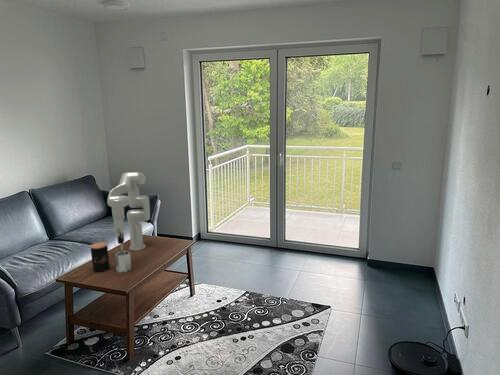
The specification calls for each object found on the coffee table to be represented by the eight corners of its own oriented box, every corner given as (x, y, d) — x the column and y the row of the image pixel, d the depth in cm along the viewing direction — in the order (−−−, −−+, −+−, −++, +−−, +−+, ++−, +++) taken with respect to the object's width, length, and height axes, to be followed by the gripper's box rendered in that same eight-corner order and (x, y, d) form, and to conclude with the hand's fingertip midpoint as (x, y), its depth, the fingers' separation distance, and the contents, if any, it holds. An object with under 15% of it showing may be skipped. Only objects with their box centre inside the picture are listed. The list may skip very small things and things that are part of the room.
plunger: (118, 254, 261) (116, 234, 258) (128, 253, 262) (126, 234, 258) (116, 258, 254) (114, 238, 251) (126, 257, 255) (124, 237, 252)
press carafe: (119, 266, 266) (117, 250, 264) (132, 264, 268) (131, 249, 265) (115, 273, 255) (113, 256, 252) (130, 272, 256) (128, 255, 254)
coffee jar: (94, 273, 255) (91, 248, 251) (92, 268, 264) (89, 243, 260) (110, 270, 260) (107, 245, 256) (108, 264, 269) (105, 241, 265)
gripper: (115, 213, 259) (118, 238, 263) (110, 220, 243) (113, 247, 247) (126, 212, 260) (129, 237, 264) (122, 219, 244) (124, 246, 248)
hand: (121, 242), depth 256 cm, fingers closed on plunger, 3 cm apart
